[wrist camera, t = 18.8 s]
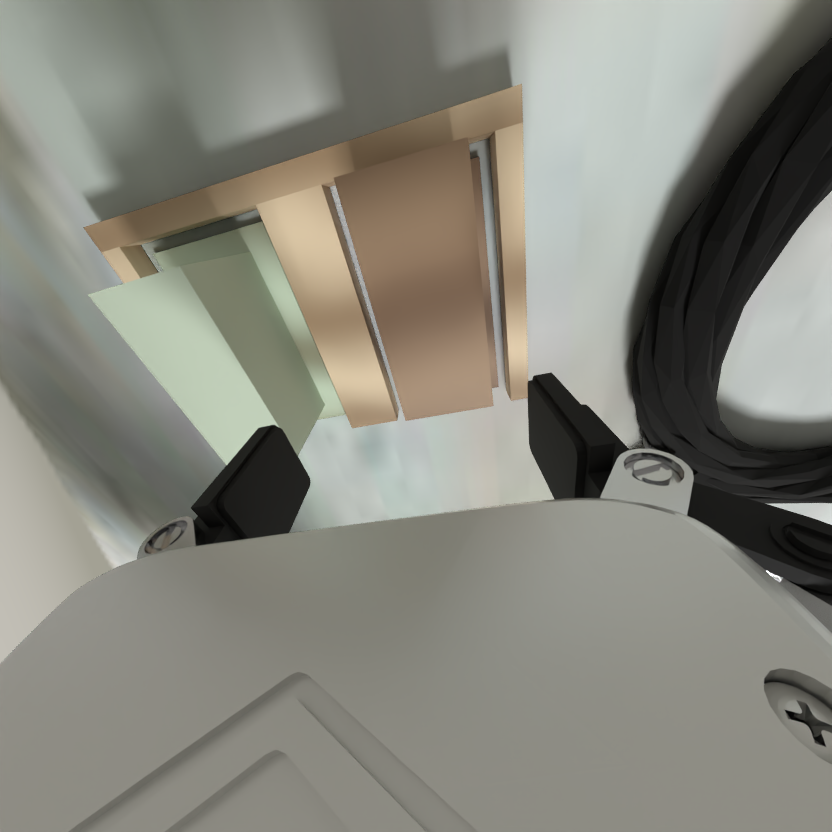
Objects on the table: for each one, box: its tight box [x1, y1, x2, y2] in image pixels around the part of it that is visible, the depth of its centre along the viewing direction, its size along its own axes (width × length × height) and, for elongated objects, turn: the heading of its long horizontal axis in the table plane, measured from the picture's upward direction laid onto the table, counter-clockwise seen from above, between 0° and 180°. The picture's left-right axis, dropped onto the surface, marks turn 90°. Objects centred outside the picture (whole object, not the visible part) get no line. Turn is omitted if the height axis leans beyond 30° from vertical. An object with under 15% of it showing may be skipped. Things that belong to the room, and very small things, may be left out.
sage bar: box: [88, 252, 325, 465], centre depth 15 cm, size 9×4×5 cm, turn 14°
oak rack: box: [83, 84, 528, 428], centre depth 16 cm, size 13×19×1 cm
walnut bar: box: [334, 137, 493, 421], centre depth 13 cm, size 9×4×5 cm, turn 13°
